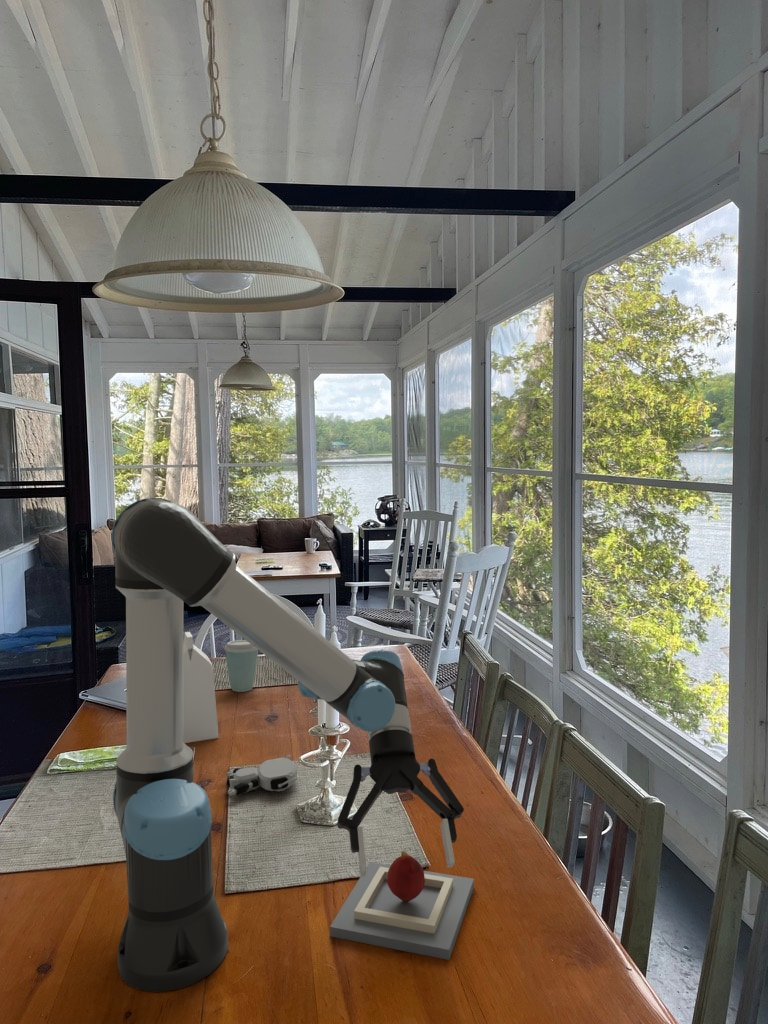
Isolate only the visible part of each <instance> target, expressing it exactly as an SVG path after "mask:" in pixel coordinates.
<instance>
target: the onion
mask: <svg viewBox="0 0 768 1024" xmlns="http://www.w3.org/2000/svg"><path fill="white" fill-rule="evenodd" d="M400 854H401V855H400V856H399V857H397V858H396V859H394V860H393V862H391V864H390V865H391V866H390V868H389V870H388V874H387V882H388V886H389V888H390V890H391V891H392V893H393V894H394V895H395V896H397V897H398V898H399V899H401V900H402V901H403V902H408V901H411V900H412V899H414V898H416V897H417V896H418V895H419V894H420V893H421V891H422V890H423V888H424V884H425V877H424V871H425V870H424V868H423V866H422V865H421V863H420V862H419V861H418V859H416V858H415V857H413V856H411V855H410V854H408V853H407V851H405V850H402V851H401V852H400Z"/></svg>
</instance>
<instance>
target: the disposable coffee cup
mask: <svg viewBox="0 0 768 1024" xmlns="http://www.w3.org/2000/svg"><path fill="white" fill-rule="evenodd" d="M223 650H224V652H225V659H226V665H227V671H228V679H229V683H230V688H231V690H232V691H233V692H237V693H245V692H249V691H251V690H253V687H254V684H255V676H256V669H257V662H258V655H259V650H258V649H257V648H255V647H254V646H253V645H252V644H250V643H249V642H248V641H246V640H245V639H237V640H231V641H228V642H226V644H225V646H224V649H223Z"/></svg>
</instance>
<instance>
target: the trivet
mask: <svg viewBox="0 0 768 1024" xmlns="http://www.w3.org/2000/svg"><path fill="white" fill-rule="evenodd" d="M391 865H392V864H384V863H379V862H373V861H370V862H369V863H368V864H367V865H366V870H367V872H366V875H365V876H363V877H359V878H358V880H357V882H356V884H355V885H354V887H353V889H352V890H351V892H350V894H349V895H348V896H347V898H346V900H345V901H344V903H343V905H342V906H341V908H340V910H339V911H338V913H337V915H336V916H335V918H334V920H333V921H332V922H331V924H330V925H329V937H331V938H337V939H341V940H346V941H347V940H348V941H350V942H351V941H352V942H356V943H361V944H368V945H370V946H371V945H372V946H377V947H381V948H387V949H392V950H395V951H396V950H397V951H402V952H408V953H413V954H418V955H421V956H427V957H431V958H437V959H442V960H447V961H450V959H451V956H452V952H453V950H454V947H455V945H456V941H457V938H458V936H459V933H460V929H461V926H462V924H463V921H464V919H465V915H466V912H467V910H468V906H469V903H470V901H471V897H472V895H473V892H474V889H475V879H474V878H470V877H466V876H465V877H464V876H459V875H452V874H446V873H441V872H435V871H434V872H433V871H429V870H428V871H427V870H423V871H424V877H425V884H424V888H423V890H422V891H421V893H420V894H419V895H418V896H417V897H416V898H414V899H412V900H411V901H408V902H403V901H402V900H401V899H399V898H398V897H397V896H395V895H394V894H393V893H392V891H391V890H390V888H389V886H388V882H387V874H388V870H389V868H390V866H391Z"/></svg>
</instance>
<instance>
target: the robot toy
mask: <svg viewBox="0 0 768 1024" xmlns="http://www.w3.org/2000/svg"><path fill="white" fill-rule="evenodd" d="M291 756H292V755H290V754H289V755H287V756H284V757H278V758H272V759H267V760H265V761H264V762H261V764H260V765H259V766H258V768H256V767H254V766H253V767H245V768H243V767H242V768H241V767H239V768H238V767H236V768H234V769H230V770H228V771H227V772H226V775H227V777H228V778H227V779H226V786H227V787H228V788H230V789H228V791H227V794H228V795H229V796H235V795H236V796H240V795H243V794H245V792H246V793H249V791H253V790H257V789H258V787H259V786H260V787H261V788H263V789H264V790H266V791H270V792H277V793H279V792H280V791H281V792H283V791H285V790H286V789H289V788H290V787H292V786H293V785H294V784H295V783H296V781H297V779H298V771H297V770H298V769H297V765H296V763H295V762H294V761H293V760H291V759H290V758H291Z"/></svg>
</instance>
